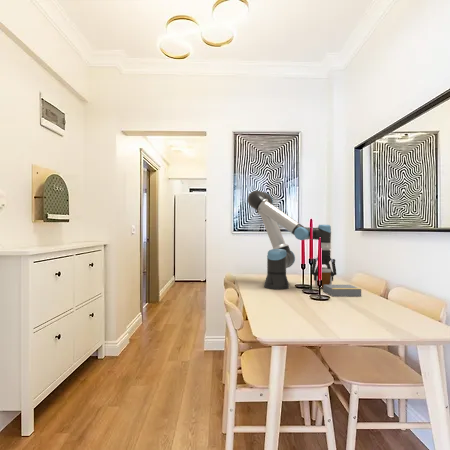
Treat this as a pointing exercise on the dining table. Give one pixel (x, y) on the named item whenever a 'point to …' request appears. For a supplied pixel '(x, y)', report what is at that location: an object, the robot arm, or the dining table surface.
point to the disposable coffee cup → (325, 276)
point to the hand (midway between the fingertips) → (323, 286)
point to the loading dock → (342, 290)
